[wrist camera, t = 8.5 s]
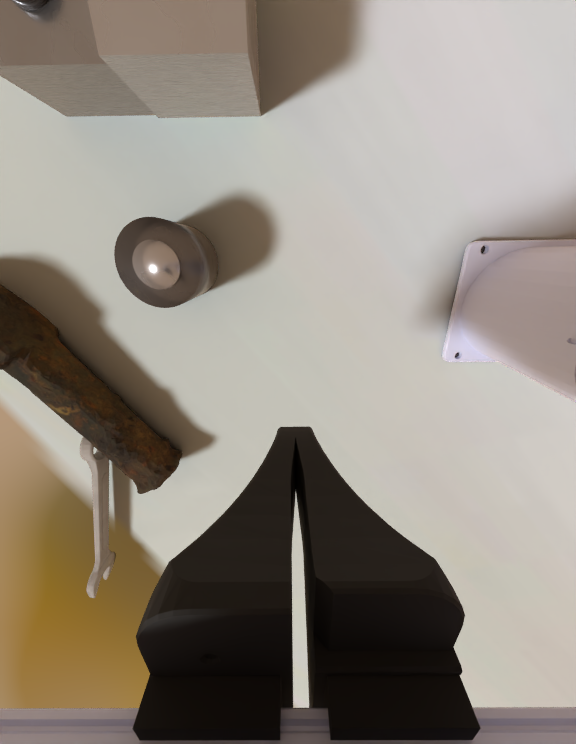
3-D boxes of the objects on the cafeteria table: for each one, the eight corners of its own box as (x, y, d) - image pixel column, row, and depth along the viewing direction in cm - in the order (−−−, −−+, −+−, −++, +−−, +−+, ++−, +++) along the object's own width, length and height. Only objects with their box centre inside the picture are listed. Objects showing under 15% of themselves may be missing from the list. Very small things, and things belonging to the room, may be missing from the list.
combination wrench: (71, 441, 20) (81, 603, 27) (89, 445, 20) (94, 605, 27) (103, 415, 23) (104, 564, 31) (118, 418, 24) (116, 566, 31)
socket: (213, 223, 17) (191, 215, 13) (222, 296, 19) (204, 307, 15) (143, 225, 17) (101, 217, 13) (158, 297, 19) (124, 309, 15)
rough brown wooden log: (191, 448, 24) (171, 490, 20) (157, 467, 25) (130, 510, 21) (8, 247, 18) (-79, 244, 14) (-30, 280, 19) (-124, 287, 14)
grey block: (255, -25, 13) (235, -188, 8) (260, 116, 15) (247, 53, 10) (137, -23, 13) (49, -184, 8) (159, 118, 15) (98, 55, 10)
